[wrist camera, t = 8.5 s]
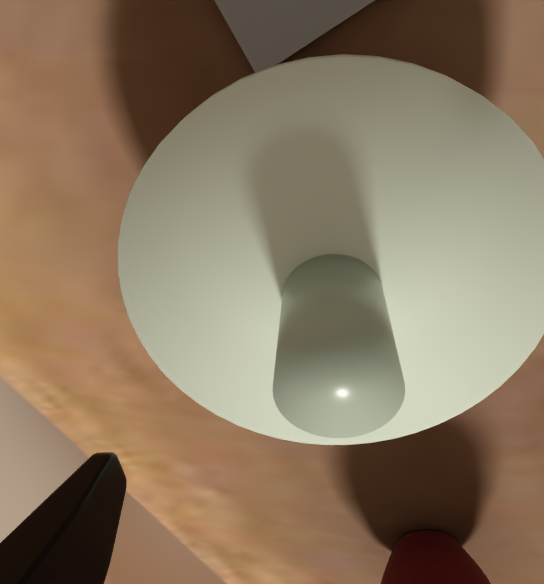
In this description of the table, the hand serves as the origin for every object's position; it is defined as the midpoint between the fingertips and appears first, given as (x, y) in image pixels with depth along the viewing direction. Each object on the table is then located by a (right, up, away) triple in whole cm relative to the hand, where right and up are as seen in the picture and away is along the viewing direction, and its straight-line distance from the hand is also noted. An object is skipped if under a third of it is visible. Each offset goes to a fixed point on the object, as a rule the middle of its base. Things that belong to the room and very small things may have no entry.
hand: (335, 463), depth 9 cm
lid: (+1, +4, +6) cm, 7 cm away
